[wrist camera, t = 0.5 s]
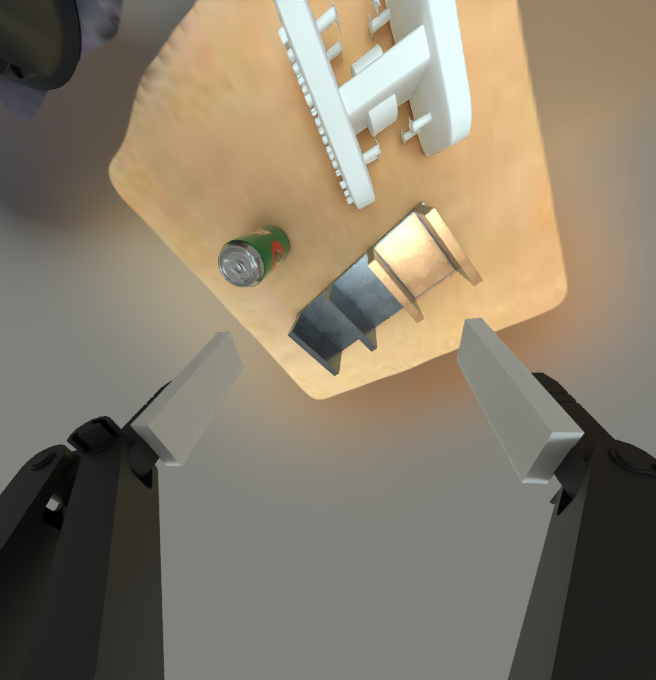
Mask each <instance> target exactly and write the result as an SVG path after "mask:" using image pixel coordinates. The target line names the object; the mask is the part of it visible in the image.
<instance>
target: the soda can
mask: <svg viewBox="0 0 656 680" xmlns="http://www.w3.org/2000/svg"><path fill="white" fill-rule="evenodd" d="M289 249H290V246H289V241H288V238H287V236H286V235H285V233H284V232H283V231H282V230H280V229H279V228H277V227H274V226H266V227H263V228H261V229H258V230H256V231H253V232H251V233H249V234H246V235H244V236H241V237H239V238H237V239H234V240H232V241H230V242H228V243H226V244H225V245H224V246H223V248H222V250H221V252H220V255H219V259H218V265H219V269H220V271H221V273H222V275H223V276H224V278H225V279H226V280H227V281H228V282H230V283H231V284H233V285H235V286H238V287H253V286H255V285H257V284H259V283H260V282H261V281H262V280H263V279H264V278H265V277H266V276H267V275H268V274H270V273H271V272H272V271H273V270H274V269H275V268H276V267H277V266H278V265H279V264H280V263H281V262H282V261H283V260H284V259H285V258H286V257H287V256H288V254H289Z"/></svg>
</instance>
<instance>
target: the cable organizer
mask: <svg viewBox="0 0 656 680" xmlns="http://www.w3.org/2000/svg"><path fill="white" fill-rule="evenodd" d="M274 2H275V6H276V9H277V12H278V15H279V18H280V21H281V24H282V28H281V29H280V30H279V31H278V33H279V35H280V38H281V40H282V43H283V45H285V47H286V49H287V50H288V49H289V48H290V47H291V48H290V49H289V50H288V51H287V54H288V56H289V59H290V61H291V63H292V64H293V65H292V66H293V69H294V71H295V73H296V75H297V79H298V81H299V85H300V86H301V88H302V91H303V93H304V95H305V99H306V102H307V104H308V106H309V108H311V107H312V106H313V105H314V108H313V109H312V110H311V113H312V115H313V117H314V116H315V115H316V114H317V116H318V117H317V118H316V119H314V120H315V123H316V125H317V127H318V131H319V133H320V135H322V140H323V142H324V144H325V145H326V146H327V145H328V144H329V145H328V146H327V147H326V150H327V152H328V153H329V154H328V155H329V157H330V160H332V165H333V167H334V169H337V168H339V170H337V171H335V172H336V174H337V177H338V176H339V175H341V176H342V178H343V181H342V182H340V185H341V187H342V190H343V189H345V188H347V190H346V191H345V192H344V194H345V197H346V196H348V195H349V194H350V196H348V197H347V198H346V199H347V202H348V204H349V205H350V204H351V203H353V202H354V204H355V206H356V207H357V208H358V209H359V210H360V209H362V208H363V207H365V206H367V205H369V204H371V203H372V202H374V201H375V194H374V189H373V185H372V182H371V178H370V175H369V172H368V169H367V166H366V165H368V164H369V163H371V162H373V161H374V160H376V159H377V162H378V156H377V155H378V154H379V155H381V150H380V146H379V144H378V142H377V141H376V139H375V141H376V146H375V147H373V148H371V149H370V150H368V151H367V152H365V153H363V154H362V152H361V149H360V146H359V143H358V141H357V138H356V135H357V134H358V133H360V132H361V131H363V130H364V129H366V128H367V127H368V129H369V131H370V133H371V135H372V136H373V137H374V136H375V135H377V134H378V133H380V132H381V131H382V130H384V129H385V128H386V127H388V126H389V125H391V124H392V123H393V122H395V121H396V120H397V116H398V110H397V107H398V106H400V105H401V104H403V103H404V102H406V101H407V100H409V102H410V106H411V110H412V114H413V118H414V122H413V120H412V121H411V120H410V117H409V126H408V127H409V128H410V130H409V131H407V132H406V133H404V132H402V130H401V138H402V141H403V144H404V145H405V143H406V141H407V140H408V139H410V138H413V136H415V135H416V134H418V138H419V141H420V144H421V147H422V149H423V151H424V153H425V155H426V156H427V157H429V156H431V155H433V154H435V153H438V152H440V151H442V150H444V149H446V148H449V147H451V146H452V145H454V144H456V143H458V142H459V141H461V140H463V139H465V138H466V137H467V136H468V135H469V132H470V129H471V121H472V108H471V97H470V90H469V84H468V78H467V71H466V65H465V58H464V52H463V46H462V39H461V33H460V27H459V20H458V14H457V8H456V1H455V0H385V6H386V9H385V10H384V11H383V12H382V13H381V14H379V9H378V6H380V7H381V5H380V2H379V0H372V2H373V5H374V7H375V10H376V12H377V15H378V16H377V17H376V18H375V19H373V20H372V21H371V17H370V16H368V13H367V17H368V24H369V30H370V32H371V35H372V39H373V33H374V32H375V31H377V30H378V29H379V28H380V27H382V26H383V25H384V24H385V23H386V22H388V21H389V22H390V26H391V30H392V34H393V38H394V42H395V45H394V46H393V47H391V48H390V49H389V50H388V51H386V52H385V53H384V54H383V52H382V49H381V47H380V46H379V45H378V44H377V45H376V46H375V47H373V48H372V49H371V50H370V51H368V52H367V53H366V54H365V55H363V56H362V57H361V58H359V59H358V60H357V61H356V62H354V63H353V64H352V65H351V73H352V78H351V79H350V80H348V81H347V82H346V83H344V84H343V85H342V86H341V87H340V88H339V86H338V83H337V81H336V78H335V75H334V72H333V69H332V66H331V64H330V61H331V60H332V59H334V58H335V57H336V56H337V55H338V54H340V53H342V56H343V59H344V54H343V48H342V45H341V43H340V40H339V38H338V37H337V39H338V42H337V43H336V44H335V45H333V46H332V47H331V48H330V49H329V50H327V51H326V49H325V46H324V44H323V41H322V38H321V35H320V34H321V33H322V32H324V31H325V30H326V29H327V28H328V27H329V26H330V25H332V24H333V23H334V22H335V21H336V22H337V24H338V27H339V31H340V26H339V19H338V14H337V11H336V8H335V6H334V3H332V2H333V0H332V1H331V3H332V7H331V8H330V9H328V10H327V11H326V12H325V13H324V14H323V15H322V16H321V17H320V18H319V19H317V20H316V21H315V18H314V15H313V12H312V9H311V7H310V4H309V1H308V0H274ZM340 34H341V33H340ZM336 36H337V35H336ZM373 42H374V41H373ZM344 62H345V61H344ZM408 116H409V115H408ZM400 128H401V127H400ZM372 146H373V145H372ZM381 156H382V155H381ZM381 156H380V158H381ZM334 159H335V160H334Z"/></svg>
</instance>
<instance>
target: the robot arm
mask: <svg viewBox="0 0 656 680" xmlns="http://www.w3.org/2000/svg"><path fill="white" fill-rule="evenodd" d="M79 50H80V34H79V24H78V17H77V12H76V7H75V3H74V0H0V76H2V77H4V78H6V79H8V80H11V81H14V82H17V83H20V84H23V85H27V86H30V87H33V88H37V89H42V90H52V89H56V88H59V87H61V86H63V85H64V84H66V82H68V81H69V79H70V78H71V77H72V75H73V73H74V71H75V69H76V66H77V62H78V58H79ZM457 363H458V365H459V367H460V369H461V371H462V373H463V375H464V376H465V378H466V380H467V382H468V384H469V386H470V388H471V389H472V391H473V393H474V395H475V397H476V399H477V401H478V402H479V404H480V406H481V408H482V410H483V411H484V414H485V415H486V417H487V419H488V421H489V423H490V425H491V426H492V428H493V430H494V432H495V434H496V436H497V438H498V439H499V441H500V443H501V445H502V447H503V449H504V451H505V452H506V454H507V456H508V458H509V460H510V462H511V464H512V465H513V467H514V469H515V471H516V473H517V475H518V477H519V478H520V480H521V482H522V483H543V484H547V483H548V482H549V480H550V479H551V478H552V476H553V475H554V474H555V476H556V477H557V479H558V480H559V482H560V483H561V485H562V487H561V488H560V489H559V490H558V492H557V493H556V494H555V496H554V497H553V498H552V499H551V501H550V503H552V504H555V506H554V510H553V513H552V517H551V521H550V524H549V528H548V532H547V536H546V540H545V543H544V547H543V551H542V555H541V558H540V562H539V566H538V569H537V573H536V577H535V580H534V584H533V588H532V592H531V595H530V599H529V603H528V607H527V611H526V614H525V618H524V622H523V625H522V629H521V633H520V637H519V640H518V644H517V648H516V652H515V655H514V659H513V663H512V667H511V670H510V674H509V678H508V680H656V459H655V458H654V457H652V456H651V455H649V454H648V453H647V452H645V451H643V450H642V449H640V448H637V447H635V446H633V445H631V444H629V443H625V442H622V441H619V440H615V439H614V438H613V437H612V436H611V435H609V434H608V432H607V431H606V430H605V429H604V428H603V427H602V426H601V425H600V424H599V423H598V422H597V421H596V420H595V419H594V418H593V417H592V416H591V415H590V414H589V413H588V412H587V411H586V410H585V409H584V408H583V407H582V406H581V405H580V404H579V403H576V400H575V399H574V398H573V397H572V396H571V395H570V394H568V392H567V391H566V390H565V389H564V388H563V387H562V386H561V385H560V384H559V383H558V382H557V381H555V380H554V379H552V378H550V377H549V376H547V375H545V374H544V373H530V371H529V370H528V369H527V368H526V367H525V366H524V365H523V364H522V363H521V361H520V360H519V359H518V358H517V357H516V356H515V355H514V354H513V353H512V351H510V349H509V348H508V347H507V346H506V345H505V344H504V343H503V341H502V340H501V339H500V338H499V337H498V336H497V335H496V334H495V332H494V331H493V330H492V329H491V328H490V327H489V326H488V325H487V324H486V322H485V321H484V320H483V319H482V318H475V319H465V323H464V327H463V332H462V337H461V342H460V346H459V351H458V356H457ZM243 368H244V366H243V364H242V361H241V359H240V357H239V354H238V352H237V349H236V346H235V344H234V342H233V339H232V337H231V334H230V332H218V333H217V334H216V335H215V336H214V337H213V338H212V339H211V340H210V341H209V342H208V343H207V344H206V346H205V347H204V348H203V349H202V350H201V351H200V352H199V353H198V354H197V355H196V356H195V357H194V358H193V359H192V361H190V363H189V364H188V365H187V366H186V367H185V368H184V369H183V370H182V371H181V372H180V373H179V374H178V375H177V376H176V377H175V378H174V379H173V380H172V381H170V382H169V383H167V384H166V385H164V386H163V387H162V388H160V390H159V391H158V392H157V393H156V394H155V395H154V397H152V398H151V399H150V400H149V401H148V402H147V404H145V405H144V406H143V407H142V408H141V409H140V410H139V411H138V412H137V414H135V415H134V416H133V417H132V419H131V420H130V421H129V422H128V423H127V424H126V425H125V426H124V427H123V428H122V429H120V427H118V425H117V424H115V422H114V421H113V420H112V419H111V418H110V417H107V416H103V417H98V418H95V419H92V420H90V421H88V422H86V423H85V424H83V425H82V426H80V427H79V428H77V429H76V430H75V431H74V432H73V433H72V434H71V435H70V436H69V438H68V439H67V442H68V443H70V444H71V445H72V446H73V447H74V448H75V449H77V450H76V451H71V450H70V449H68V448H67V447H66V446H65V445H61V444H60V445H55V446H52V447H50V448H47V449H45V450H43V451H41V452H39V453H38V454H36V455H35V456H34V457H33V458H31V459H30V460H29V461H28V462H27V463H26V464H25V465H24V466H23V467H22V468H21V469H20V470H19V472H18V473H17V474H16V475H15V477H14V478H13V479H12V481H11V482H10V483H9V484H8V486H7V487H6V488H5V490H4V491H3V492H2V493H1V495H0V680H164V656H163V655H164V654H163V621H162V588H161V557H160V523H159V493H158V469H157V467H156V466H155V463H156V462H157V460H158V459H159V458H160V459H161V460H162V461H163V463H164V464H165V465H166V466H182V465H183V464H184V462H185V460H186V459H187V457H188V456H189V454H190V453H191V451H192V449H193V448H194V446H195V445H196V443H197V441H198V440H199V438H200V437H201V435H202V433H203V432H204V430H205V428H206V427H207V425H208V424H209V422H210V421H211V419H212V417H213V416H214V414H215V413H216V411H217V410H218V408H219V406H220V405H221V403H222V401H223V400H224V398H225V397H226V395H227V393H228V392H229V390H230V389H231V387H232V386H233V384H234V382H235V381H236V379H237V378H238V376H239V374H240V373H241V371H242V370H243ZM50 498H52V499H54V500H55V501H57V502H58V503H59V505H58V507H57V508H56V510H55V511H52V510H50V509H48V508H47V507H46V505H47V503H48V502H49V500H50Z"/></svg>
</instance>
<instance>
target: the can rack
mask: <svg viewBox="0 0 656 680" xmlns="http://www.w3.org/2000/svg"><path fill="white" fill-rule="evenodd" d="M456 272H459V273H460V274H462V275H463V276H464V277H465V278H466V279H467V280H468V281H469V282H471V283H472V284H473V285H474V286H475V285H476V284H478V283H480V282H481V281H483V279H482V278H481V276H480V275H479V273H478V272H477V270H476V269H475V267H474V266H473V265H472V263H471V262H470V260H469V259H468V257H467V256H466V254H465V253H464V251H463V250H462V248H461V247H460V245H459V244H458V242H457V241H456V239H455V238H454V236H453V235H452V233H451V232H450V230H449V229H448V227H447V226H446V224H445V223H444V221H443V220H442V219H441V217H440V216H439V214H438V213H437V211H436V210H435V208H433V207H429V206H426V205H425V204H424V203H423V202H421V203H420V204H419V205H418V206H417V207H416V208H414V209H413V210H412V211H411V212H410V213H409V214H408V215H407V216H406V217H405V218H403V219H402V220H401V221H400V222H399V223H398V224H397V225H396V226H395V227H393V228H392V229H391V230H390V231H389V232H388V233H387V234H386V235H385V236H384V237H382V238H381V239H380V240H379V241H378V242H377V243H376V244H375V245H374V246H373V247H371V248H370V249H369V250H368V251H367V252H366V253H365V254H364V255H363V256H362V257H360V258H359V259H358V260H357V261H356V262H355V263H354V264H353V265H352V266H351V267H349V268H348V269H347V270H346V271H345V272H344V273H343V274H342V275H341V276H340V277H338V278H337V279H336V280H335V281H334V282H333V283H332V284H331V285H330V286H328V287H327V288H326V289H325V290H324V291H323V292H322V293H321V294H320V295H319V296H317V297H316V298H315V299H314V300H313V301H312V302H311V303H310V304H309V305H308V306H306V307H305V308H304V309H303V310H302V311H301V312H300V313H299V314H298V315H297V316H296V320H295V322H294V323H293V325H292V327H291V329H290V331H289V333H288V336H289V337H290V338H291V339H292V340H294V341H295V342H296V343H297V344H298V345H299V346H301V347H302V348H303V349H304V350H305V351H306V352H307V353H309V354H310V355H311V356H312V357H313V358H314V359H315V360H317V361H318V362H319V363H320V364H321V365H322V366H324V367H325V368H326V369H327V370H328V371H329V372H330V373H332V374H333V375H334V376H335V375H337V374H338V373H339V370H340V362H341V353H342V351H343V350H344V349H345V348H347V347H348V346H350V345H351V344H352V343H354V342H355V341H357V340H358V339H359V340H360V341H361V342H362V343H363V344H364V345H365V346H366V347H367V348H368V349H369V350H371V351H373V350H375V349H376V348H377V341H376V330H375V327H376V326H378V325H379V324H381V323H382V322H384V321H385V320H386V319H388V318H389V317H391V316H392V315H393V314H395V313H396V312H398V311H399V310H400V309H402V308H403V307H404V308H405V309H406V310H407V312H408V313H409V314H410V315H411V316H412V317H413V319H414V320H415V321H416V322H417V323H418V322H420V321H421V320H423V319H424V317H423V315H422V313H421V311H420V308H419V306H418V304H417V302H416V300H418V299H419V298H421V297H422V296H423V295H425V294H426V293H428V292H429V291H431V290H432V289H433V288H435V287H436V286H438V285H439V284H440V283H442V282H443V281H445V280H446V279H448V278H449V277H450V276H452V275H453V274H455V273H456Z"/></svg>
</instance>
